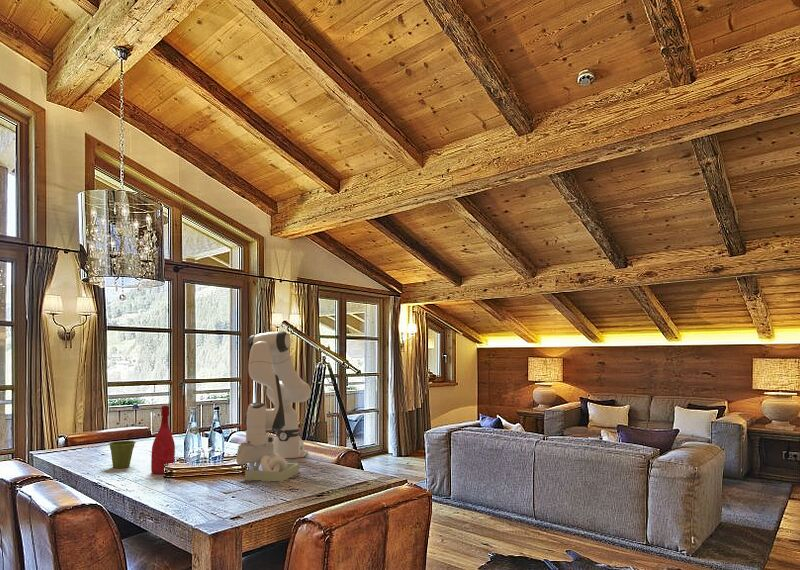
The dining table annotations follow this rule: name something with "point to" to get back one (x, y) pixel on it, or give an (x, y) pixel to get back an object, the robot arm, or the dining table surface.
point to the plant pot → (121, 453)
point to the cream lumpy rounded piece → (273, 463)
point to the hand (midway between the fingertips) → (254, 471)
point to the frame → (273, 474)
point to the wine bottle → (162, 445)
